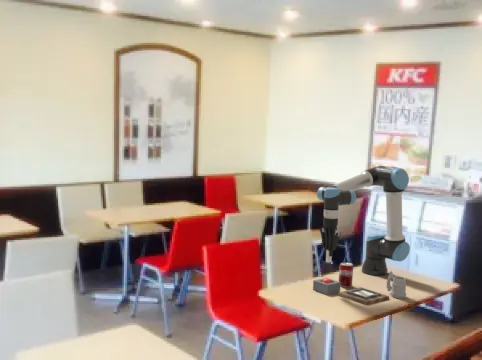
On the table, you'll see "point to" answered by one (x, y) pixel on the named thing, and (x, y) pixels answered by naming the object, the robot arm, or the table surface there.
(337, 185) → the robot arm
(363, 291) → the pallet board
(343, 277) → the soda can
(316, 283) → the button housing
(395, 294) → the mug
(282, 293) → the table surface
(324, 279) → the button
